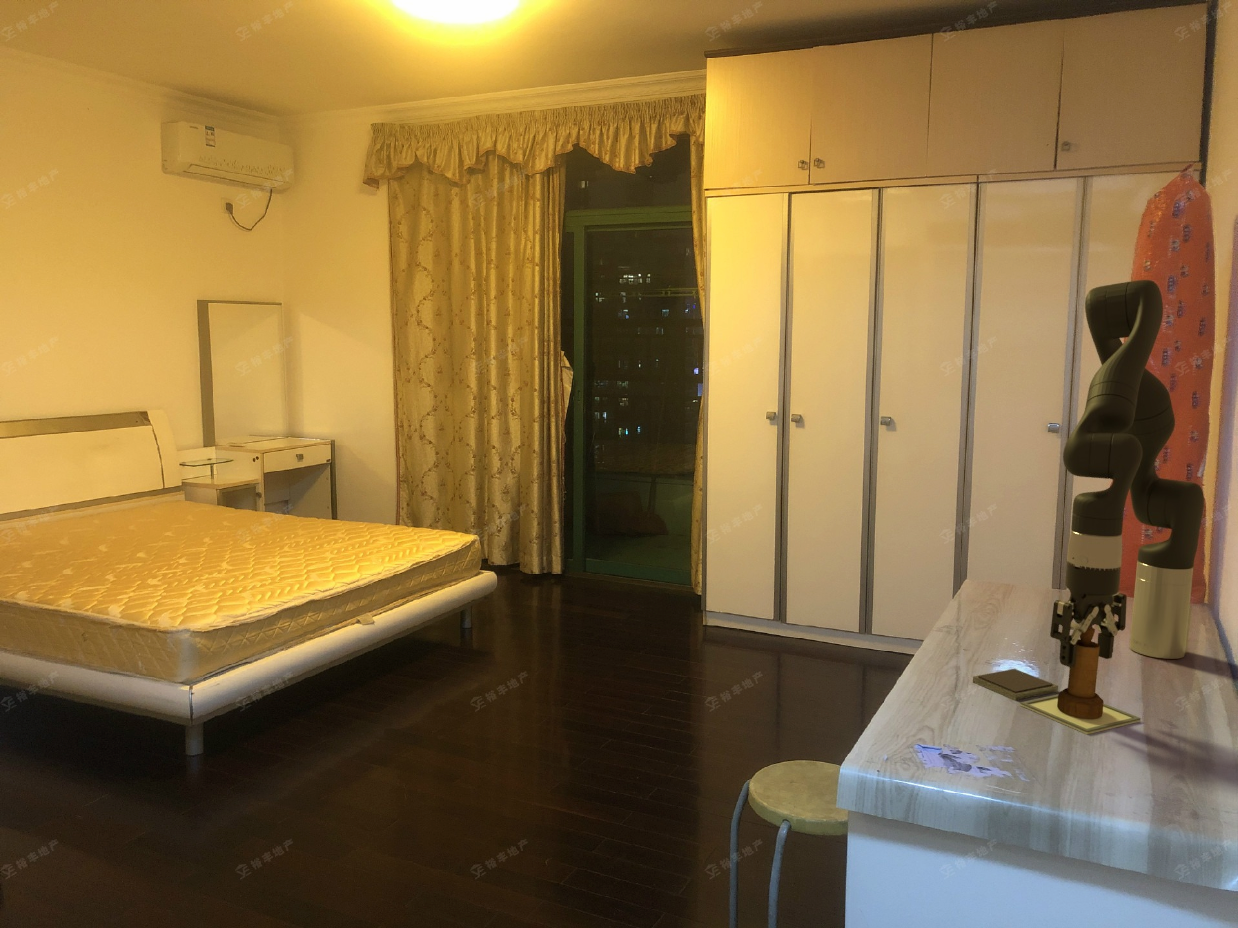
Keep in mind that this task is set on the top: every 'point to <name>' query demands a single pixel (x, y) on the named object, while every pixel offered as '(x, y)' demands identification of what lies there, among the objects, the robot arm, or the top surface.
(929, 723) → the top surface
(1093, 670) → the brown wooden stamp
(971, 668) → the top surface
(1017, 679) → the ink pad
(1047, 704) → the print card
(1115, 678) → the top surface
